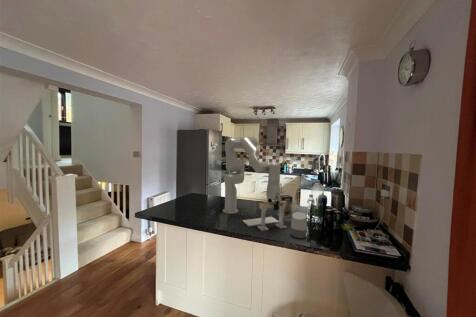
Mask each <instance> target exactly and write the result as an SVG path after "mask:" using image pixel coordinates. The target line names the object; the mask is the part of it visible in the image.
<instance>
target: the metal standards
mask: <svg viewBox="0 0 476 317" xmlns="http://www.w3.org/2000/svg"><path fill="white" fill-rule="evenodd" d="M285 206H286V204H282V207H280V213H279V216H278V221H279V222H276V223H275V226H276V227H278V228H279V229H285V228H288V226H287V225H286V224H285V223H284V219H285V218H284V209H285ZM260 210H261V215H260V216H261V217H260V218H261V225H256V226H257V229H258V230H259V231H261V232H264V231H269V228H268V227H267V226H266V224H265V217H266V214H267V213H266V212H267V211H268V208H267V206H264V209H260Z"/></svg>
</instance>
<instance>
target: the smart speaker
mask: <svg viewBox="0 0 476 317" xmlns="http://www.w3.org/2000/svg"><path fill="white" fill-rule="evenodd" d="M307 219H308V216H307V214H306V213H304V212H300V211H296V212H294V213H293V212H292V217H291V223H290V234H291V236H292V237H293V238H295V239H300V240H302V239H304V238H306V237H307V235H308V220H307Z"/></svg>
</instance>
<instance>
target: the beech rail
mask: <svg viewBox="0 0 476 317" xmlns="http://www.w3.org/2000/svg"><path fill="white" fill-rule="evenodd" d="M274 204H275V202H274V201H272V202H268V201H267V202H265V201H264V202H258V207H257V208H258V209H260V210H261V209H264V206H267V209H272V208H273V209H274ZM282 204H286V206H287V202H286V201H280V203H279V207H282Z"/></svg>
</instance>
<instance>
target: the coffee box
mask: <svg viewBox="0 0 476 317" xmlns="http://www.w3.org/2000/svg"><path fill="white" fill-rule="evenodd" d="M280 198H281V201H286V202H287V206H285V209H284V218H283V219H289V218H292V214H293V200H294V199H293V198H294V197H293V196H291V195H289V194H287V195H286V194H284V195H281V194H280ZM279 213H280V207H279V210H277V216H278V217H279Z"/></svg>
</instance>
